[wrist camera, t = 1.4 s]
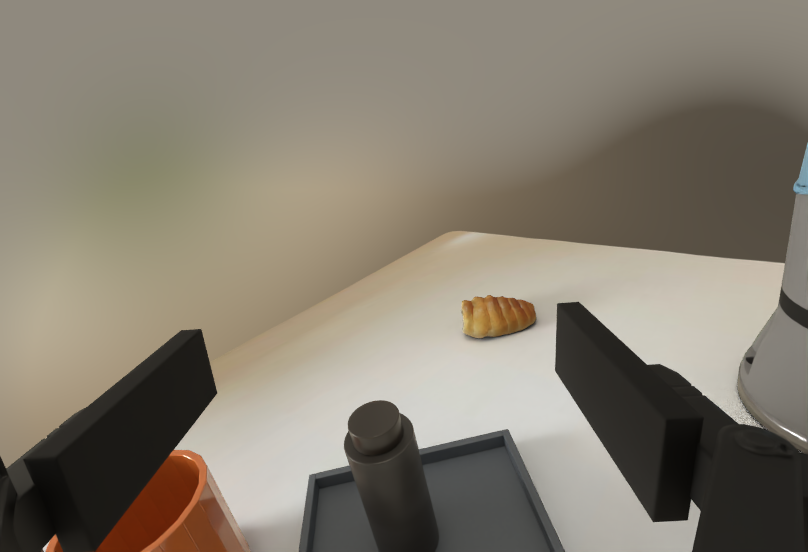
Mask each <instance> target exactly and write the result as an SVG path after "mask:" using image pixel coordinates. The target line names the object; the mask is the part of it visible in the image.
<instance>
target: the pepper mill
mask: <svg viewBox="0 0 808 552" xmlns="http://www.w3.org/2000/svg"><path fill="white" fill-rule="evenodd" d="M348 430H349V431H348V433H347V435H346V437H345V441H344V450H345V453H346V456H347V459H348V462H349V465H350V468H351V471H352V474H353V477H354V480H355V483H356V486H357V489H358V491H359V494H360V497H361V500H362V503H363V506H364V509H365V512H366V515H367V518H368V521H369V524H370V527H371V530H372V533H373V536H374V539H375V542H376V545H377V547H378V550H379V552H435V550H436V548H437V545H438V541H439V530H438V526H437V522H436V518H435V514H434V510H433V506H432V502H431V498H430V494H429V490H428V486H427V482H426V478H425V474H424V469H423V465H422V461H421V457H420V453H419V449H418V445H417V441H416V437H415V433H414V429H413V425H412V423H411V422H410V420H409V419H408V418H407V417H406V416H404V415H403V414H401V413H399V410H398V408H397V407H396V406H395V405H394V404H393V403H391V402H388V401H382V400H379V401H372V402H369V403H366V404H364V405H362V406H360V407H359V408H358V409H356V410H355V411H354V412H353V413H352V415H351V416H350V418H349V421H348Z"/></svg>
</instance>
